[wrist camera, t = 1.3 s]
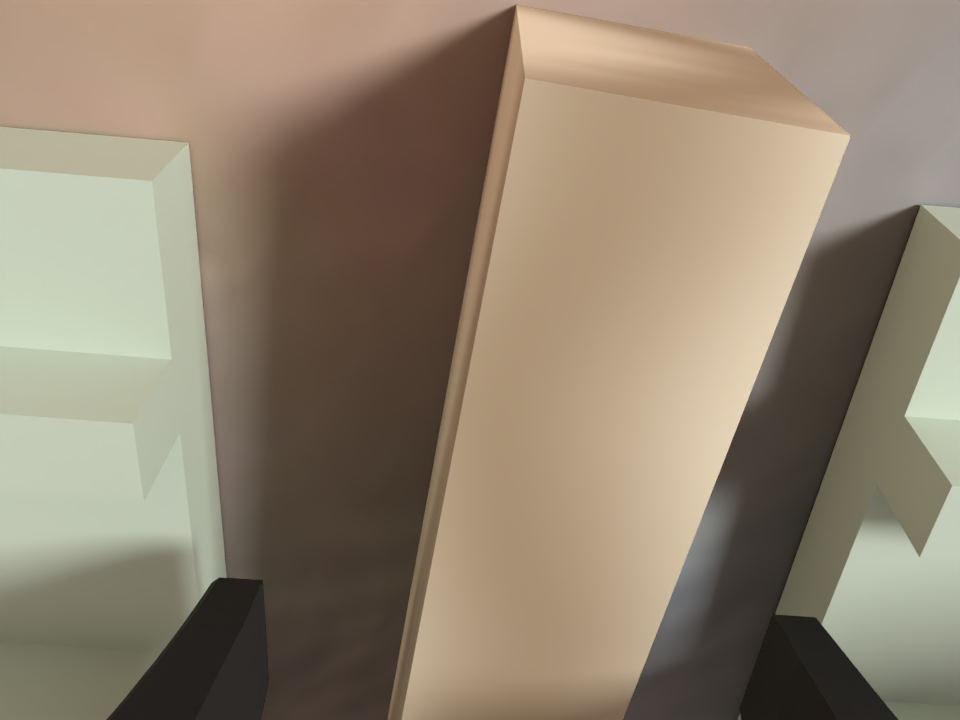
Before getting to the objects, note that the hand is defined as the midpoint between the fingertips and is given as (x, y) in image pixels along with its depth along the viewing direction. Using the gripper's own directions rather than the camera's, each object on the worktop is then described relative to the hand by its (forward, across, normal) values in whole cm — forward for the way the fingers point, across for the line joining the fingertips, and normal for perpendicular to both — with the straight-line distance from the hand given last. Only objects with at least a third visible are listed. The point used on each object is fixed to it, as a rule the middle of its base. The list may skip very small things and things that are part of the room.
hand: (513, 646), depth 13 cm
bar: (+3, 0, 0) cm, 3 cm away
